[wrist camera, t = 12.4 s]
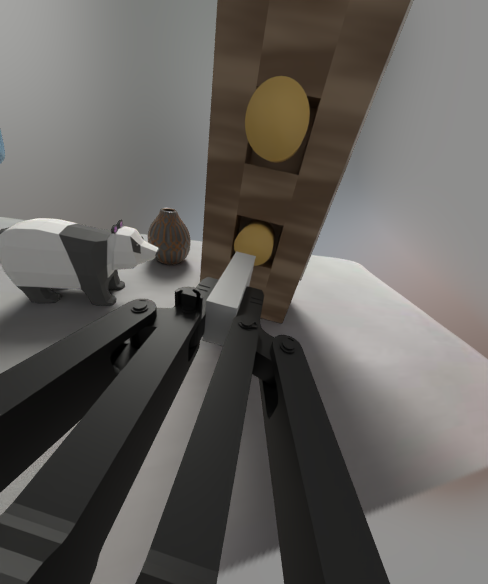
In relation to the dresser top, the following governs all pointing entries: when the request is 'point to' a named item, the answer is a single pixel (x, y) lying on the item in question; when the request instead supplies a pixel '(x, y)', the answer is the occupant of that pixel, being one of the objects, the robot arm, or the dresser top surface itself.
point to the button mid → (277, 118)
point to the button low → (256, 241)
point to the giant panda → (70, 258)
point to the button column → (319, 136)
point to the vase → (169, 237)
